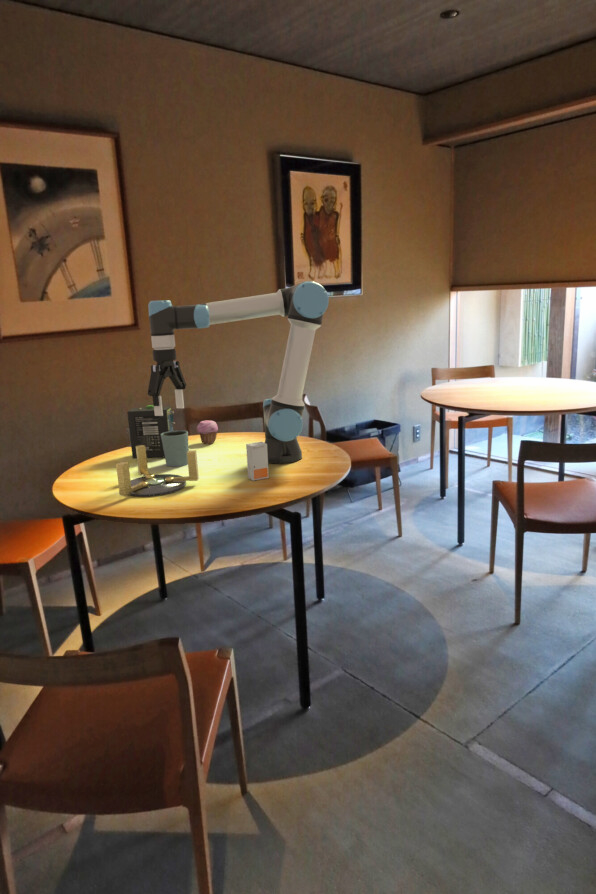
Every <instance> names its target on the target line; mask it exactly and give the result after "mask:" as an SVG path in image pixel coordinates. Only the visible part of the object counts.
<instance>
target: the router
mask: <svg viewBox="0 0 596 894" xmlns="http://www.w3.org/2000/svg"><path fill="white" fill-rule="evenodd" d="M162 409H163V416H155V413H154V405H153V404H149V405H146V406H145V407H134V408H133V407H132V408H131V409H129V410H128V411H127V420H128V421H127V423H128V428H126V434H128V436H129V445H128V446H127V447H128V448H131V455H132V456H131V457H132V459H136V460H137V454H136V446H140V445H144V446H145V449H146V458H147V459H160V458H165V455H164V449H163V444H162V439H161V434H162V433H164V432H168V431H174V427H173V426H174V425H175V424H176V422H174V414H175V411H174V410H172V407H171V406H162Z"/></svg>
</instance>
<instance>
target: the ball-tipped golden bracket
mask: <svg viewBox="0 0 596 894" xmlns="http://www.w3.org/2000/svg"><path fill="white" fill-rule="evenodd" d="M115 466H116V467H115V468H116V476H117V483H118V491H119V494H120V495H125V496H126V495H128V494H129V493H131V492H132V491H135V490H137V489H140V488H142V487H148V482H147V481H143V482H140V483H139V484H137V485H134V486H132V487H131V473H130V465H129V462H127V461H121V462H118V463H116V464H115Z"/></svg>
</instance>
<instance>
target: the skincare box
mask: <svg viewBox="0 0 596 894" xmlns="http://www.w3.org/2000/svg"><path fill="white" fill-rule="evenodd" d="M245 445H246V446H245V447H246V448H245V449H246V463H247V465H246V466H247V478H248V479H249V480H251V481H259V480H265V479H269V478H270V477H269V463H268V453H267V444H266V443H265V441H258V442H257V441H256V442H251V443H246V444H245Z"/></svg>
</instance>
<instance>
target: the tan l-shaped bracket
mask: <svg viewBox="0 0 596 894" xmlns="http://www.w3.org/2000/svg"><path fill="white" fill-rule="evenodd" d="M187 459H188V465H187V468H188V476H182V477H172V476H170V477H166V478H165V480H166V482H173V481H187V482H188V481H189V482H196V481H197V482H198V481H199V479H200V478H199V467H198V456H197V450H189V451H188V452H187Z"/></svg>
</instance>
